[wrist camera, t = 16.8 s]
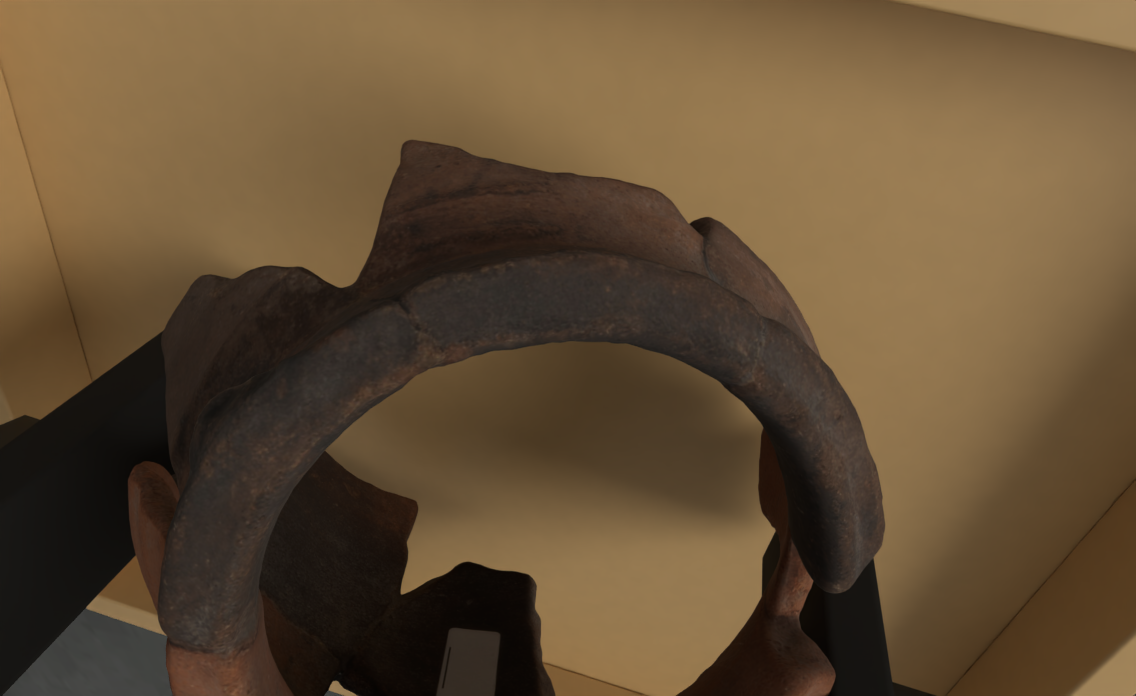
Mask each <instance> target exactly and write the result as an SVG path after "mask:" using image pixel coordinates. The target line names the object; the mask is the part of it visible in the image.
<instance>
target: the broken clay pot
mask: <svg viewBox="0 0 1136 696" xmlns="http://www.w3.org/2000/svg"><path fill="white" fill-rule="evenodd" d="M400 154H401V158H400V165H399V167H398V168H397V171H396V173H395V175H394V177H393V179H392V182H391V185H390V187H389V190H388V193H387V195H386V198H385V200H384V204H383V208H382V212H381V216H380V219H379V224H378V228H377V232H376V235H375V238H374V242H373V247H372V249H371V252H370V254H369V256H368V258H367V261H366V263H365V265H364V267H363V268H362V270H361V272H360V274H359V276H358V278H357V280H356V281H355V282H354V283H353V284H352V285H350V286H347V287H343V288H339V287H336V286H334V285H332V284H330V283H328V282H326V281H325V280H323V279H322V278H320V277H319V276H317V275H316V274H314V273H313V272H311V271H310V270H308V269H306V268H304V267H299V266H296V267H281V266H273V265H268V266H262V267H258V268H255V269H251V270H249V271H247V272H245V273H244V274H242V275H241V276H239V277H237V278H234V279H230V278H226V277H222V276H217V275H212V274H209V275H202V276H200V277H199V278H197V279H196V280H195V281H194V282H193V283H192V285H191V286H190V288H189V289H188V291H187V293H186V294H185V296H184V297H183V299H182V300H181V302H180V303H179V305H178V306H177V308H176V309H175V311H174V312H173V314H172V316H171V317H170V319H169V320H168V322H167V324H166V327H165V329H164V331H163V334H162V337H161V346H162V351H163V355H164V360H165V374H166V394H165V399H166V422H167V432H168V445H169V454H170V460H171V464H172V467H173V470H174V472H175V474H174V475H172V476H171V475H170V474H169V472H168V471H167V470H166V469H165V468H164V467H162V466H161V465H159V464H157V463H155V462H149V461H145V462H142V463H141V464H138V465H136V466H135V467H134V468H133V469H132V471H131V473H130V476H129V478H128V500H129V521H130V528H131V535H132V540H133V545H134V549H135V554H136V557H137V560H138V563H139V566H140V570H141V573H142V576H143V578H144V581H145V583H146V586H147V588H148V591H149V593H150V595H151V598H152V600H153V604H154V606H155V609H156V611H157V614H158V621H159V624H160V627H161V629H162V631H163V632H164V633H165V634H166V635H167V637H168V638H167V644H166V667H167V670H168V674H169V681H170V686H171V690H172V693H173V696H324V695H325V693H326V692H327V691H328V690H329V688H330V685H331V684H332V682H333V681H338V682H339V684H340V685H341V686H342V687H343V688H344V689H346V690H348V691H350V692H352V693H354V694H356V695H357V696H556V695H555V691H554V688H553V685H552V681H551V679H550V677H549V676H548V674H547V672H546V670H545V668H544V666H543V662H542V648H541V618H540V616H539V614H538V613H537V611H536V609H535V602H536V591H537V585H536V582H535V581H534V579H533V578H532V577H531V576H530V575H529V574H525V573H521V572H516V571H503V570H496V569H492V568H488V567H485V566H483V565H481V564H477V563H473V562H462V563H460V564H458V565H456V566H455V567H454V568H453V569H452V570H451V571H449V572H448V573H446V574H444V575H442V576H439V577H436V578H433V579H431V580H429V581H427V582H425V583H424V584H422V585H421V586H419V587H417V588H416V589H414V590H412V591H410V592H407V593H405V594H401V584H402V579H403V576H404V573H405V569H406V565H407V562H408V547H407V541H408V538H409V536H410V534H411V531H412V529H413V526H414V523H415V520H416V517H417V514H418V504H417V502H416V501H415V500H413V499H410V498H407V497H404V496H400V495H398V494H395V493H391V492H387V491H384V490H382V489H380V488H378V487H376V486H374V485H373V484H370V483H368V482H365V481H363V480H361V479H359V478H357V477H356V476H354V475H353V474H352V473H350V472H349V471H347V470H346V469H345V468H344V467H343V466H341V465H340V464H339V463H338V462H337V461H335V460H334V459H333V458H332V457H331V456H330V455H329V454H328V453H327V452H326V451H325V450H326V449H327V448H328V447H329V446H330V445H331V444H332V443H333V442H334V441H335V440H336V439H337V438H338V437H339V436H340V435H341V434H342V433H343V432H344V431H345V430H346V429H347V428H348V427H350V426H351V425H352V424H353V423H354V422H355V421H357V420H358V419H359V418H360V417H362V416H363V415H364V414H365V413H366V412H367V411H368V410H370V409H371V408H373V407H374V406H376V405H377V404H379V403H380V402H382V401H383V400H385V399H386V398H387V397H389V396H390V395H392V394H394V393H395V392H397V391H399V390H400V389H402V388H403V387H404V386H405V385H406V384H407V383H408V382H409V381H410V380H411V379H413V378H414V377H415V376H416V375H419V374H421V373H423V372H425V371H427V370H428V369H431V368H436V367H444V366H446V365H449V364H453V363H457V362H460V361H464V360H465V359H467V358H469V357H472V356H477V355H482V354H485V353H488V352H491V351H501V350H514V349H519V348H524V347H529V346H536V345H543V344H548V343H563V342H569V341H576V342H609V343H614V344H625V343H626V344H630V345H633V346H637V347H640V348H642V349H645V350H649V351H653V352H657V353H661V354H664V355H667V356H670V357H673V358H675V359H677V360H679V361H682V362H684V363H686V364H687V365H689V366H691V367H693V368H695V369H698V370H699V371H701V372H703V373H704V374H706V375H708V376H710V377H712V378H714V379H716V380H717V381H719V382H720V383H721V384H722V385H723V386H724V387H725V388H726V389H727V390H728V391H729V392H730V393H731V394H733V395H734V396H735V397H737V398H738V399H739V400H741V401H742V402H743V403H744V404H745V405H746V406H747V408H748V409H749V410H750V411H751V412H752V413H753V414H754V415H755V417H756V418H757V419H758V420H759V421H760V423H761V424H762V426H763V430H762V433H761V445H760V458H759V483H758V492H759V502H760V506H761V510H762V513H763V515H764V516H765V517H766V518H767V520H768V521H769V522H770V524H771V526H772V527H773V528H775V531H776V533H777V534H778V535H779V541H780V557H779V561H778V564H777V567H776V569H775V571H774V574H773V575H772V577H771V579H770V581H769V583H768V585H767V587H766V589H765V591H764V593H763V595H762V597H761V599H760V601H759V602H758V604H757V606H756V608H755V610H754V611H753V613H752V615H751V616H750V618H749V619H748V621H747V622H746V624H745V625H744V627H743V628H742V629H741V630H740V632H739V633H738V634H737V636H736V637H735V639H734V640H733V641H732V642H731V643H730V645H729V646H728V647H727V648H726V649H725V650H724V651H723V652H722V653H721V654H720V655H719V657H718V658H717V660H716V661H715V662H714V663H713V664H712V665H711V666H710V667H709V668H707V669H706V670H705V671H704V672H702V673H701V674H700V676H699V677H698V678H697V680H696V681H695V682H694V683H693V684H692V685H690V686H689V687H687V688H686V689H685V690H683V691H682V692H680V693H679V694H677V695H676V696H828V695H829V693H830V691H831V688H832V686H833V684H834V681H835V677H836V675H835V670H834V668H833V667H832V665H831V664H830V662H829V660H828V659H827V657H826V656H825V655H824V653H823V652H822V651H821V649H820V648H819V647H818V646H817V644H816V643H815V642H814V641H813V640H811V639H810V638H809V637H808V636H807V635H806V634H805V633H804V632H803V631H802V629H801V626H800V622H799V614H800V612H801V610H802V608H803V605H804V602H805V600H806V597H807V595H808V593H809V591H810V589H811V587H812V584H813V581H814V582H815V583H816V584H817V585H818V586H819V587H820V588H821V589H823V590H824V591H826V592H829V593H841V592H844V591H846V590H848V589H849V588H850V587H851V586H852V585H853V584H854V583H855V581H856V579H857V578H858V576H859V575H860V574H861V572H862V571H863V569H864V568H865V567H866V566H867V564H868V563H869V562H870V561H871V560H872V559H873V558H874V556H875V555H876V553H877V552H878V551H879V549H880V548H881V546H882V543H883V536H884V532H885V518H884V511H883V505H882V499H883V495H882V491H881V485H880V480H879V475H878V471H877V467H876V464H875V462H874V460H873V457H872V455H871V453H870V451H869V448H868V446H867V442H866V438H865V434H864V430H863V427H862V424H861V421H860V418H859V416H858V413H857V411H856V408H855V407H854V405H853V404H852V402H851V400H850V398H849V396H848V395H847V393H846V392H845V390H844V389H843V387H842V386H841V384H840V383H839V381H838V380H837V378H836V376H835V374H834V372H833V371H832V369H831V368H830V367H829V366H828V365H827V364H826V363H825V362H824V361H823V360H822V359H821V356H820V354H819V350H818V348H817V345H816V343H815V340H814V337H813V335H812V333H811V330H810V328H809V326H808V325H807V323H806V321H805V319H804V317H803V315H802V313H801V311H800V309H799V308H798V306H797V304H796V303H795V301H794V300H793V298H792V296H791V295H790V293H789V292H788V291H787V289H786V288H785V286H784V285H783V284H782V282H781V281H780V280H779V279H778V277H777V276H776V274H775V273H774V272H773V271H772V270H771V269H770V268H769V267H768V266H767V264H766V263H765V262H763V261H762V260H761V259H760V258H759V257H758V256H757V255H756V254H755V253H754V252H753V251H752V250H751V249H750V248H749V247H748V246H747V245H746V244H745V243H744V242H742V240H741V239H740V238H739V237H738V236H737V235H736V234H735V233H733V232H732V231H731V230H730V229H729V228H728V227H726V226H725V225H724V224H723V223H721V222H720V221H717V220H715V219H713V218H711V217H703V218H700V219H697V220H694V221H692V222H691V223H688V222H687V221H686V220H685V218H684V217H683V216H682V214H681V213H680V212H679V210H678V209H677V207H676V206H675V205H674V203H673V202H672V201H671V200H670V199H669V198H668V197H666V196H665V195H664V194H663V193H661V192H659V191H658V190H656V189H653V188H649V187H645V186H640V185H637V184H634V183H629V182H625V181H622V180H618V179H612V178H606V177H591V176H583V175H577V174H574V173H570V172H559V173H555V172H546V171H542V170H537V169H532V168H527V167H523V166H519V165H514V164H510V163H504V162H501V161H498V160H495V159H490V158H482V157H478V156H475V155H472V154H470V153H468V152H466V151H464V150H463V149H461V148H458V147H454V146H449V145H444V144H439V143H433V142H426V141H418V140H408V141H406V142H404V143H403V144H402V148H401V151H400Z"/></svg>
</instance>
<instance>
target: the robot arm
mask: <svg viewBox="0 0 1136 696" xmlns="http://www.w3.org/2000/svg"><path fill="white" fill-rule="evenodd" d="M163 331H164V330H163ZM163 331H162V332H161V333H159V334H158V335H156V336H155V337H154V338H152V339H151V340H150V341H148V342H147V343H145V344H144V345H143V346H141V347H140V348H139V349H137V350H136V351H134V352H133V353H132V354H130V355H129V356H128V357H126V358H125V359H123V360H122V361H121V362H119V363H118V364H117V365H115V366H114V367H112V368H111V369H110V370H108V371H107V372H105V373H104V374H103V375H101V376H100V377H99V378H97V379H96V380H94V381H93V382H92V383H90V384H89V385H88V386H86V387H85V388H83V389H82V390H81V391H79V392H78V393H77V394H75V395H74V396H72V397H71V398H70V399H68V400H67V401H66V402H64V403H63V404H61V405H60V406H59V407H57V408H56V409H55V410H53V411H52V412H50V413H49V414H48V415H46V416H45V417H44V418H42V419H41V420H40V419H37V418H33V417H30V416H27V415H23V416H21V417H18V418H16V419H14V420H11V421H9V422H6V423H4V424H1V425H0V696H2V695H3V694H4V693H5V692H6V691H7V690H8V689H9V688H10V687H11V686H12V685H13V684H14V682H15V681H16V680H17V679H18V678H19V677H20V676H21V675H22V674H23V673H24V672H25V671H26V670H27V669H28V668H29V667H30V666H31V665H32V664H33V663H34V662H35V660H36V659H37V658H38V657H39V656H40V655H41V654H42V653H43V652H44V651H45V650H46V649H47V648H48V647H49V646H50V645H51V644H52V643H53V642H54V641H55V639H56V638H57V637H58V636H59V635H60V634H61V633H62V632H63V631H64V630H65V629H66V628H67V627H68V626H69V625H70V624H71V623H72V622H73V621H74V620H75V619H76V617H77V616H78V615H79V614H80V613H81V612H82V611H83V610H84V609H85V608H86V607H87V606H88V605H89V604H90V603H91V602H92V601H93V600H94V599H95V598H96V596H97V595H98V594H99V593H100V592H101V591H102V590H103V589H104V588H105V587H106V586H107V585H108V584H109V583H110V582H111V581H112V580H113V579H114V578H115V577H116V576H117V574H118V573H119V572H120V571H121V570H122V569H123V568H124V567H125V566H126V565H127V564H128V563H129V562H130V561H131V560H132V559H133V558H134V557H135V556H136V554H135V549H134V545H133V540H132V535H131V528H130V521H129V500H128V478H129V476H130V473H131V471H132V469H133V468H134V467H135V466H136V465H138V464H141V463H142V462H145V461H149V462H155V463H157V464H159V465H161V466H162V467H164V468H165V469H166V470H167V471H168V472H169V474H170V475H171V476H172V475H174V474H175V472H174V470H173V467H172V464H171V460H170V454H169V445H168V432H167V422H166V399H165V394H166V374H165V360H164V355H163V351H162V346H161V337H162V334H163ZM779 557H780V541H779V535H778V534H777V533H776V531H775V533H774V535H773V537H772V539H771V541H770V543H769V545H768V547H767V549H766V551H765V553H764V555H763V557H762V595H763V593H764V591H765V589H766V587H767V585H768V583H769V581H770V579H771V577H772V575H773V574H774V571H775V569H776V567H777V564H778V561H779ZM799 622H800V626H801V629H802V631H803V632H804V633H805V634H806V635H807V636H808V637H809V638H810V639H811V640H813V641H814V642H815V643H816V644H817V646H818V647H819V648H820V649H821V651H822V652H823V653H824V655H825V656H826V657H827V659H828V660H829V662H830V664H831V665H832V667H833V668H834V670H835V675H836V677H835V681H834V684H833V686H832V688H831V691H830V693H829V695H828V696H936V695H933V694H930V693H927V692H923V691H920V690H917V689H914V688H910V687H907V686H904V685H901V684H898V683H894V682H892V676H891V670H890V663H889V656H888V650H887V643H886V636H885V630H884V623H883V616H882V610H881V603H880V597H879V590H878V583H877V577H876V570H875V563H874V558H873V559H872V560H871V561H870V562H869V563H868V564H867V566H866V567H865V568H864V569H863V571H862V572H861V574H860V575H859V576H858V578H857V579H856V581H855V583H854V584H853V585H852V586H851V587H850V588H849V589H848V590H846V591H844V592H841V593H829V592H826V591H824V590H823V589H821V588H820V587H819V586H818V585H817V584H816V583H815V582H814V581H813V584H812V587H811V589H810V591H809V593H808V595H807V597H806V600H805V602H804V605H803V608H802V610H801V612H800V614H799Z"/></svg>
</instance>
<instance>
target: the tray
mask: <svg viewBox="0 0 1136 696" xmlns="http://www.w3.org/2000/svg"><path fill="white" fill-rule="evenodd" d="M408 140H418V141H426V142H433V143H439V144H444V145H449V146H454V147H458V148H461V149H463V150H464V151H466V152H468V153H470V154H472V155H475V156H478V157H482V158H490V159H495V160H498V161H501V162H504V163H510V164H514V165H519V166H523V167H527V168H532V169H537V170H542V171H546V172H555V173H559V172H570V173H574V174H577V175H583V176H591V177H606V178H612V179H618V180H622V181H625V182H629V183H634V184H637V185H640V186H645V187H649V188H653V189H656V190H658V191H659V192H661V193H663V194H664V195H665V196H666V197H668V198H669V199H670V200H671V201H672V202H673V203H674V205H675V206H676V207H677V209H678V210H679V212H680V213H681V214H682V216H683V217H684V218H685V220H686V221H687V222H688V223H691V222H692V221H694V220H697V219H700V218H703V217H711V218H713V219H715V220H717V221H720V222H721V223H723V224H724V225H725V226H726V227H728V228H729V229H730V230H731V231H732V232H733V233H735V234H736V235H737V236H738V237H739V238H740V239H741V240H742V242H744V243H745V244H746V245H747V246H748V247H749V248H750V249H751V250H752V251H753V252H754V253H755V254H756V255H757V256H758V257H759V258H760V259H761V260H762V261H763V262H765V263H766V264H767V266H768V267H769V268H770V269H771V270H772V271H773V272H774V273H775V274H776V276H777V277H778V279H779V280H780V281H781V282H782V284H783V285H784V286H785V288H786V289H787V291H788V292H789V293H790V295H791V296H792V298H793V300H794V301H795V303H796V304H797V306H798V308H799V309H800V311H801V313H802V315H803V317H804V319H805V321H806V323H807V325H808V326H809V328H810V330H811V333H812V335H813V337H814V340H815V343H816V345H817V348H818V350H819V354H820V356H821V359H822V360H823V361H824V362H825V363H826V364H827V365H828V366H829V367H830V368H831V369H832V371H833V372H834V374H835V376H836V378H837V380H838V381H839V383H840V384H841V386H842V387H843V389H844V390H845V392H846V393H847V395H848V396H849V398H850V400H851V402H852V404H853V405H854V407H855V408H856V411H857V413H858V416H859V418H860V421H861V424H862V427H863V430H864V434H865V438H866V442H867V446H868V448H869V451H870V453H871V455H872V457H873V460H874V462H875V464H876V467H877V471H878V475H879V480H880V485H881V491H882V495H883V499H882V505H883V511H884V518H885V532H884V536H883V543H882V546H881V548H880V549H879V551H878V552H877V553H876V555H875V556H874V563H875V570H876V577H877V583H878V590H879V597H880V603H881V610H882V616H883V623H884V630H885V636H886V643H887V650H888V656H889V663H890V670H891V676H892V682H894V683H898V684H901V685H904V686H907V687H910V688H914V689H917V690H920V691H923V692H927V693H930V694H933V695H936V696H1133V695H1134V694H1135V693H1136V0H0V425H1V424H4V423H6V422H9V421H11V420H14V419H16V418H18V417H21V416H23V415H27V416H30V417H33V418H37V419H40V420H41V419H42V418H44V417H45V416H46V415H48V414H49V413H50V412H52V411H53V410H55V409H56V408H57V407H59V406H60V405H61V404H63V403H64V402H66V401H67V400H68V399H70V398H71V397H72V396H74V395H75V394H77V393H78V392H79V391H81V390H82V389H83V388H85V387H86V386H88V385H89V384H90V383H92V382H93V381H94V380H96V379H97V378H99V377H100V376H101V375H103V374H104V373H105V372H107V371H108V370H110V369H111V368H112V367H114V366H115V365H117V364H118V363H119V362H121V361H122V360H123V359H125V358H126V357H128V356H129V355H130V354H132V353H133V352H134V351H136V350H137V349H139V348H140V347H141V346H143V345H144V344H145V343H147V342H148V341H150V340H151V339H152V338H154V337H155V336H156V335H158V334H159V333H161V332H162V331H163V330H164V329H165V327H166V324H167V322H168V320H169V319H170V317H171V316H172V314H173V312H174V311H175V309H176V308H177V306H178V305H179V303H180V302H181V300H182V299H183V297H184V296H185V294H186V293H187V291H188V289H189V288H190V286H191V285H192V283H193V282H194V281H195V280H196V279H197V278H199V277H200V276H202V275H209V274H212V275H217V276H222V277H226V278H230V279H234V278H237V277H239V276H241V275H242V274H244V273H245V272H247V271H249V270H251V269H255V268H258V267H262V266H268V265H273V266H281V267H296V266H299V267H304V268H306V269H308V270H310V271H311V272H313V273H314V274H316V275H317V276H319V277H320V278H322V279H323V280H325V281H326V282H328V283H330V284H332V285H334V286H336V287H339V288H343V287H347V286H350V285H352V284H353V283H354V282H355V281H356V280H357V278H358V276H359V274H360V272H361V270H362V268H363V267H364V265H365V263H366V261H367V258H368V256H369V254H370V252H371V249H372V247H373V242H374V238H375V235H376V232H377V228H378V224H379V219H380V216H381V212H382V208H383V204H384V200H385V198H386V195H387V193H388V190H389V187H390V185H391V182H392V179H393V177H394V175H395V173H396V171H397V168H398V167H399V165H400V158H401V154H400V151H401V148H402V144H403V143H404V142H406V141H408ZM762 430H763V426H762V424H761V423H760V421H759V420H758V419H757V418H756V417H755V415H754V414H753V413H752V412H751V411H750V410H749V409H748V408H747V406H746V405H745V404H744V403H743V402H742V401H741V400H739V399H738V398H737V397H735V396H734V395H733V394H731V393H730V392H729V391H728V390H727V389H726V388H725V387H724V386H723V385H722V384H721V383H720V382H719V381H717V380H716V379H714V378H712V377H710V376H708V375H706V374H704V373H703V372H701V371H699V370H698V369H695V368H693V367H691V366H689V365H687V364H686V363H684V362H682V361H679V360H677V359H675V358H673V357H670V356H667V355H664V354H661V353H657V352H653V351H649V350H645V349H642V348H640V347H637V346H633V345H630V344H626V343H625V344H614V343H609V342H576V341H569V342H563V343H548V344H543V345H536V346H529V347H524V348H519V349H514V350H501V351H491V352H488V353H485V354H482V355H477V356H472V357H469V358H467V359H465V360H464V361H460V362H457V363H453V364H449V365H446V366H444V367H436V368H431V369H428V370H427V371H425V372H423V373H421V374H419V375H416V376H415V377H414V378H413V379H411V380H410V381H409V382H408V383H407V384H406V385H405V386H404V387H403V388H402V389H400V390H399V391H397V392H395V393H394V394H392V395H390V396H389V397H387V398H386V399H385V400H383V401H382V402H380V403H379V404H377V405H376V406H374V407H373V408H371V409H370V410H368V411H367V412H366V413H365V414H364V415H363V416H362V417H360V418H359V419H358V420H357V421H355V422H354V423H353V424H352V425H351V426H350V427H348V428H347V429H346V430H345V431H344V432H343V433H342V434H341V435H340V436H339V437H338V438H337V439H336V440H335V441H334V442H333V443H332V444H331V445H330V446H329V447H328V448H327V449H326V450H325V451H326V452H327V453H328V454H329V455H330V456H331V457H332V458H333V459H334V460H335V461H337V462H338V463H339V464H340V465H341V466H343V467H344V468H345V469H346V470H347V471H349V472H350V473H352V474H353V475H354V476H356V477H357V478H359V479H361V480H363V481H365V482H368V483H370V484H373V485H374V486H376V487H378V488H380V489H382V490H384V491H387V492H391V493H395V494H398V495H400V496H404V497H407V498H410V499H413V500H415V501H416V502H417V504H418V514H417V517H416V520H415V523H414V526H413V529H412V531H411V534H410V536H409V538H408V541H407V547H408V562H407V565H406V569H405V573H404V576H403V579H402V584H401V594H405V593H407V592H410V591H412V590H414V589H416V588H417V587H419V586H421V585H422V584H424V583H425V582H427V581H429V580H431V579H433V578H436V577H439V576H442V575H444V574H446V573H448V572H449V571H451V570H452V569H453V568H454V567H455V566H456V565H458V564H460V563H462V562H473V563H477V564H481V565H483V566H485V567H488V568H492V569H496V570H503V571H516V572H521V573H525V574H529V575H530V576H531V577H532V578H533V579H534V581H535V582H536V585H537V591H536V602H535V609H536V611H537V613H538V614H539V616H540V618H541V648H542V662H543V666H544V668H545V670H546V672H547V674H548V676H549V677H550V679H551V681H552V685H553V688H554V691H555V695H556V696H676V695H677V694H679V693H680V692H682V691H683V690H685V689H686V688H687V687H689V686H690V685H692V684H693V683H694V682H695V681H696V680H697V678H698V677H699V676H700V674H701V673H702V672H704V671H705V670H706V669H707V668H709V667H710V666H711V665H712V664H713V663H714V662H715V661H716V660H717V658H718V657H719V655H720V654H721V653H722V652H723V651H724V650H725V649H726V648H727V647H728V646H729V645H730V643H731V642H732V641H733V640H734V639H735V637H736V636H737V634H738V633H739V632H740V630H741V629H742V628H743V627H744V625H745V624H746V622H747V621H748V619H749V618H750V616H751V615H752V613H753V611H754V610H755V608H756V606H757V604H758V602H759V601H760V599H761V597H762V557H763V555H764V553H765V551H766V549H767V547H768V545H769V543H770V541H771V539H772V537H773V535H774V533H775V528H773V527H772V526H771V524H770V522H769V521H768V520H767V518H766V517H765V516H764V515H763V513H762V510H761V506H760V502H759V492H758V483H759V458H760V445H761V433H762ZM86 608H87V609H89V610H92V611H95V612H98V613H100V614H103V615H106V616H109V617H112V618H115V619H118V620H121V621H124V622H127V623H130V624H133V625H136V626H139V627H142V628H145V629H148V630H151V631H154V632H157V633H160V634H163V635H166V634H165V633H164V632H163V631H162V629H161V627H160V624H159V621H158V614H157V611H156V609H155V606H154V604H153V600H152V598H151V595H150V593H149V591H148V588H147V586H146V583H145V581H144V578H143V576H142V573H141V570H140V566H139V563H138V560H137V557H136V556H135V557H134V558H133V559H132V560H131V561H130V562H129V563H128V564H127V565H126V566H125V567H124V568H123V569H122V570H121V571H120V572H119V573H118V574H117V576H116V577H115V578H114V579H113V580H112V581H111V582H110V583H109V584H108V585H107V586H106V587H105V588H104V589H103V590H102V591H101V592H100V593H99V594H98V595H97V596H96V598H95V599H94V600H93V601H92V602H91V603H90V604H89V605H88V606H87V607H86ZM166 636H167V635H166ZM329 691H332V692H335V693H338V694H341V695H344V696H357V695H356V694H354V693H352V692H350V691H348V690H346V689H344V688H343V687H342V686H341V685H340V684H339V682H338V681H333V682H332V684H331V685H330V688H329Z"/></svg>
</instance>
